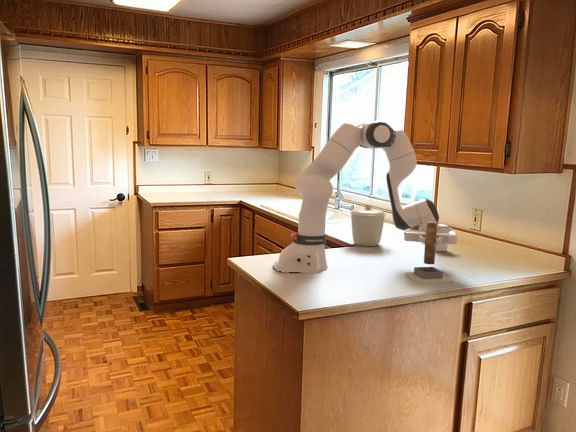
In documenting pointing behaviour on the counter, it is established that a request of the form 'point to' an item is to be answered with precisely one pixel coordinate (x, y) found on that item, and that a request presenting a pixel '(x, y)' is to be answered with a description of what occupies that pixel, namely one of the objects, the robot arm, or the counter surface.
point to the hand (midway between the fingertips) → (430, 240)
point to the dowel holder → (427, 275)
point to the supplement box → (441, 246)
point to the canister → (367, 225)
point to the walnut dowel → (430, 242)
